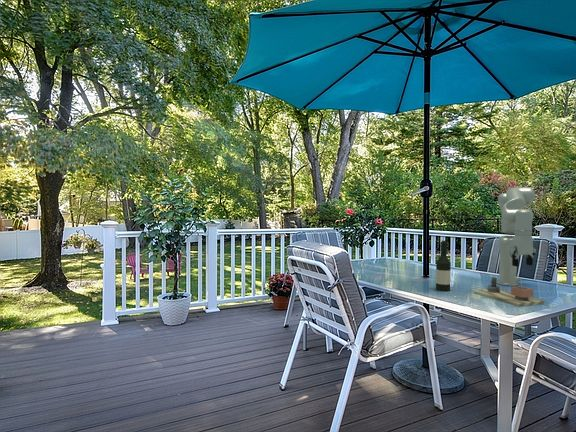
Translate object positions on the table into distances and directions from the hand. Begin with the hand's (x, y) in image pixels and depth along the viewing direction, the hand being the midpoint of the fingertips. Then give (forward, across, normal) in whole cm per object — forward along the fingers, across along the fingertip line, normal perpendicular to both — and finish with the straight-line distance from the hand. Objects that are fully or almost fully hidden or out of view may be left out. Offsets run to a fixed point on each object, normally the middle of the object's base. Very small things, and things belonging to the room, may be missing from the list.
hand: (522, 265), depth 195 cm
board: (+20, 0, -8) cm, 21 cm away
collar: (+16, 0, 0) cm, 16 cm away
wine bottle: (+20, +22, -34) cm, 45 cm away
